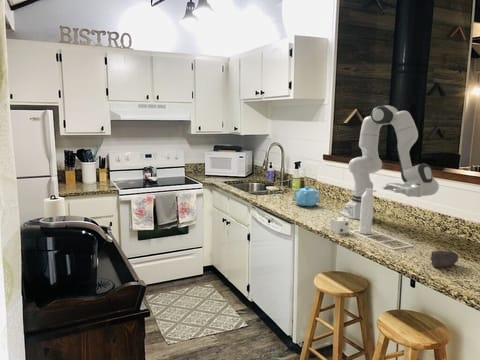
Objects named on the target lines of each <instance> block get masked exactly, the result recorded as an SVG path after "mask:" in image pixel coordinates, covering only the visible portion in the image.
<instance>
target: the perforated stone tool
mask: <svg viewBox="0 0 480 360" xmlns="http://www.w3.org/2000/svg"><path fill="white" fill-rule="evenodd" d="M458 260H459V254H458V253H456V252H454V251H451V250H434V251H431V255H430V261H431V265H432V267H434V268H445V267H446V268H447V267H449V266H453V265H455V264H456V263H457V262H458Z"/></svg>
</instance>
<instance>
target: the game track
mask: <svg viewBox="0 0 480 360" xmlns="http://www.w3.org/2000/svg"><path fill="white" fill-rule="evenodd" d="M357 232H358V233H357ZM371 232H373V233H376V234H367V235H363V234H362V235H361V233H360V234H359V229H355V230H349V233H352V234H354V235H356V236H359V237H360V236H361V237H360V238H363V239H366V240H369V241H370V242H372V243H376V244H377V245H380V246H383V247H385V248H388V249H390V250H393V251H395V250H400V249H406V248H412V247H415V245H414V244H411V243H408V242H406V241H403V240H401V239H398V238H395V237H392V236H390V235H387V234H385V233H381V232H380V231H379V232H378V231H376V230H373V229H371ZM379 236H383V237H386V238H389V239H388V240H381V241H376V240H374V239H373V238H371V237H379ZM395 241H396V242H399V243H403V244H405V245H403V246H396V247H391V246H389V245H386V244H385V243H389V242H390V243H391V242H395Z"/></svg>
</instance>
